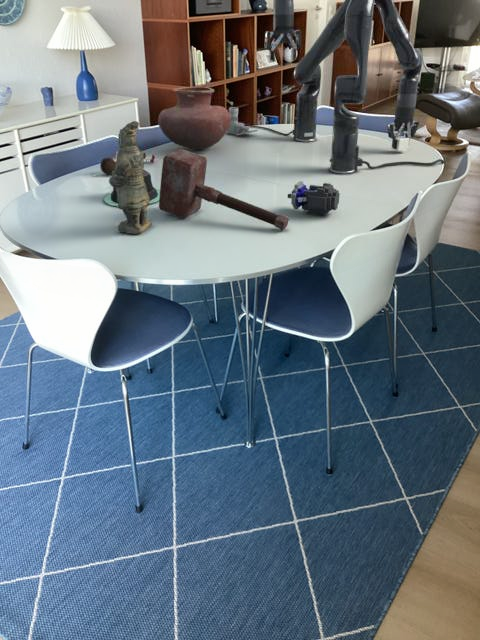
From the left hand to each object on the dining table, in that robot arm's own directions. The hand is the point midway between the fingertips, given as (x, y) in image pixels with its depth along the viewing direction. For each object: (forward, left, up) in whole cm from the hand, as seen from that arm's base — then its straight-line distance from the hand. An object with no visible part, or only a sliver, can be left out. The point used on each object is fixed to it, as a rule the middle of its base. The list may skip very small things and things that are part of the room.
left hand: (400, 147), depth 231 cm
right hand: (-40, -30, +34) cm, 60 cm away
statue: (-30, -125, -2) cm, 128 cm away
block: (0, 0, -1) cm, 1 cm away
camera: (-77, -7, -2) cm, 78 cm away
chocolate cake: (-51, -104, -2) cm, 116 cm away
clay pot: (-77, -40, -2) cm, 87 cm away
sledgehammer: (-12, -105, -2) cm, 105 cm away
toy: (+7, -84, -2) cm, 85 cm away
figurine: (-79, -80, -2) cm, 112 cm away
